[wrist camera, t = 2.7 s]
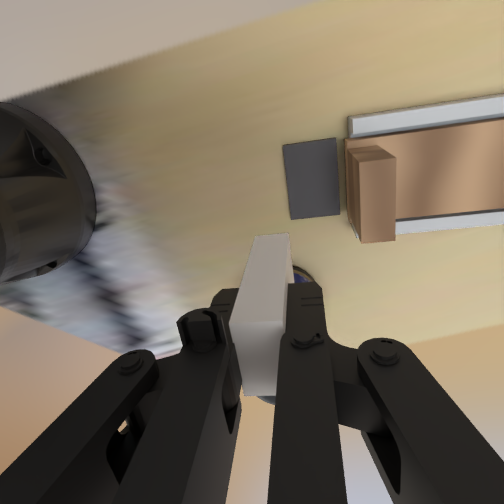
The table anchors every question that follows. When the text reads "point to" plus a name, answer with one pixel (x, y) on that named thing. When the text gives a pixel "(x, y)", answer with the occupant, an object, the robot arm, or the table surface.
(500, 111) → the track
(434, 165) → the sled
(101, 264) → the table surface
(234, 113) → the table surface
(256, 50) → the table surface
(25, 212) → the robot arm
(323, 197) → the dark grey flat block
